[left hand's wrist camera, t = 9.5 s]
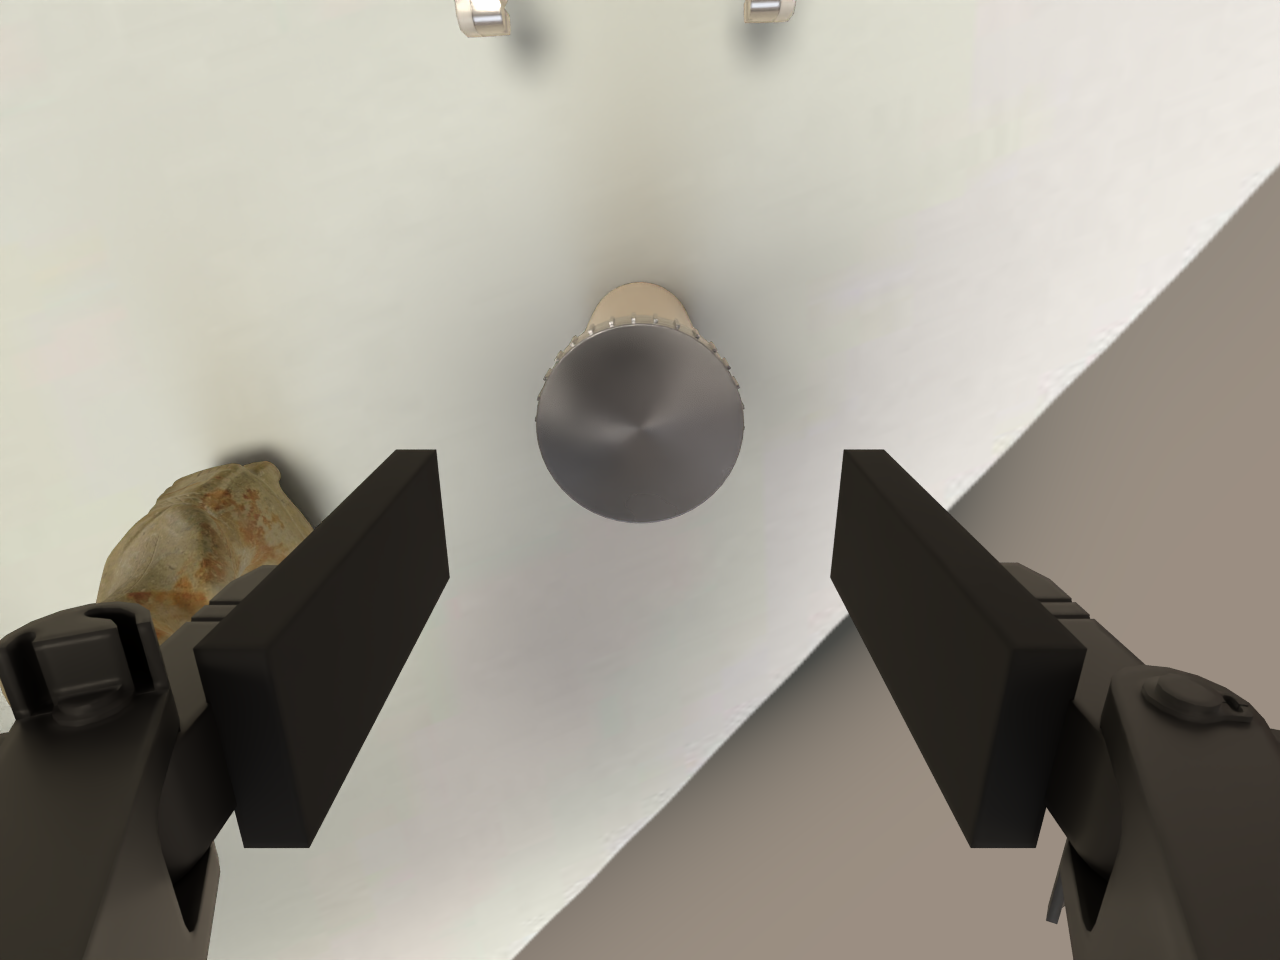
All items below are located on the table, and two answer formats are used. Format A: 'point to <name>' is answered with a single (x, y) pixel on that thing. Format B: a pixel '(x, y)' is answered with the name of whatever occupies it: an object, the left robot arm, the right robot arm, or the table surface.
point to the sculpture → (202, 542)
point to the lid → (639, 419)
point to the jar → (640, 304)
